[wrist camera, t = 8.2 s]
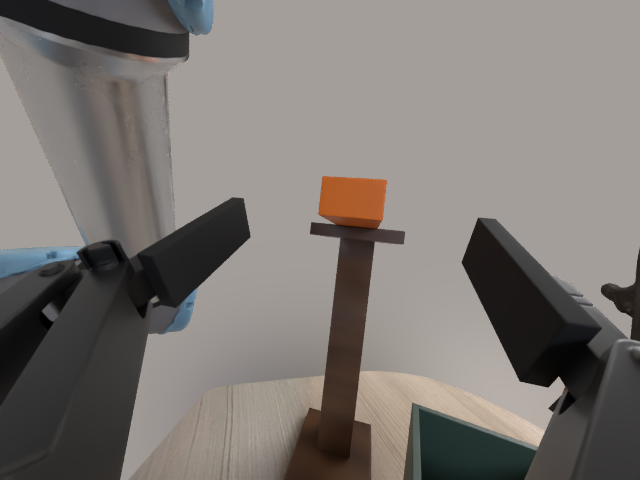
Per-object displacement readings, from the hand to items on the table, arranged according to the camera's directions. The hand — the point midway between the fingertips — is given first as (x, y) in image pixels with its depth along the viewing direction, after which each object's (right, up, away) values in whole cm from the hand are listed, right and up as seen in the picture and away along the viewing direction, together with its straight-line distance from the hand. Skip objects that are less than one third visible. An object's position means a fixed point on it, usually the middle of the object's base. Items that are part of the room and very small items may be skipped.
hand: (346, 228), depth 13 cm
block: (+2, +1, +10) cm, 10 cm away
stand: (0, -27, +14) cm, 31 cm away
